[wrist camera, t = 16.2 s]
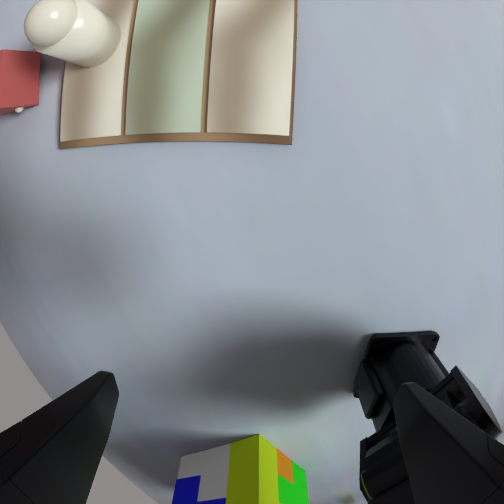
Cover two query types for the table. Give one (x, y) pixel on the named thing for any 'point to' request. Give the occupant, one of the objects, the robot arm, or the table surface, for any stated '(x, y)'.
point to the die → (19, 80)
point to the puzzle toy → (240, 476)
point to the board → (187, 75)
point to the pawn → (72, 31)
